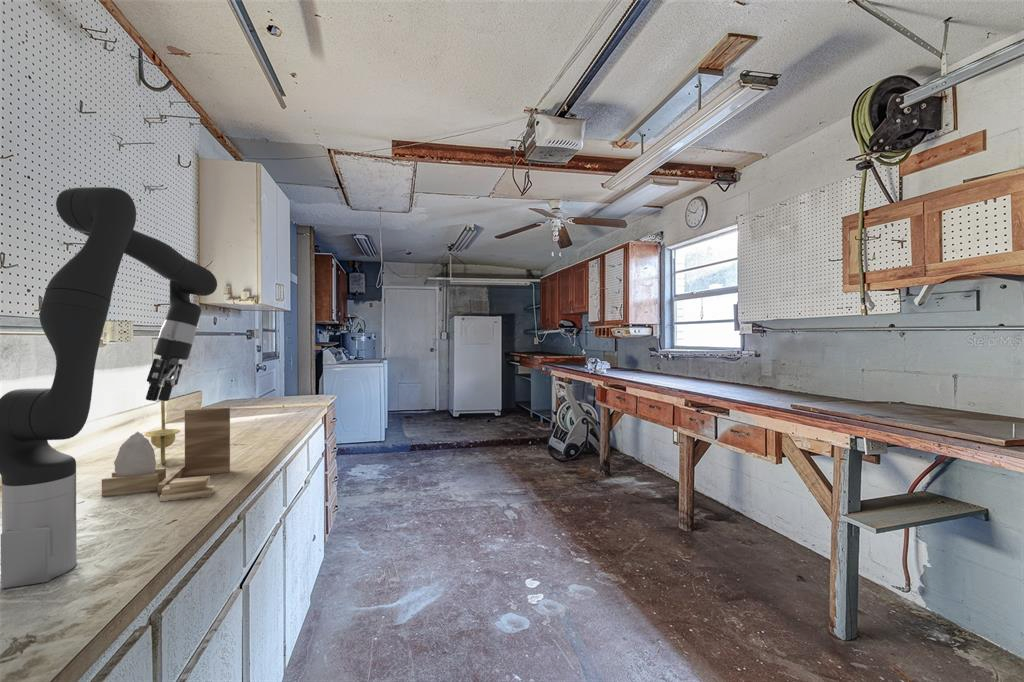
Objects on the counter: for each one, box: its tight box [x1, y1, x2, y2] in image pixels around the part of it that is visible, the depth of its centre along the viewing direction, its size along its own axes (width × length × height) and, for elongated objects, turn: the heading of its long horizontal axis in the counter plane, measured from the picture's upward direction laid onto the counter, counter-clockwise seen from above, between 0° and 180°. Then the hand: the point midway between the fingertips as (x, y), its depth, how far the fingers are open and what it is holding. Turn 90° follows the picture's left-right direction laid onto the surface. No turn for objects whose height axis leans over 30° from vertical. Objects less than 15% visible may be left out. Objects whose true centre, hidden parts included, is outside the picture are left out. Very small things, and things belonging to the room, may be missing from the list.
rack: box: [157, 407, 231, 497], centre depth 130 cm, size 19×13×20 cm
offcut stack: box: [159, 475, 216, 502], centre depth 119 cm, size 5×11×4 cm, turn 112°
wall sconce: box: [143, 400, 181, 465], centre depth 149 cm, size 14×10×25 cm
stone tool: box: [113, 431, 157, 477], centre depth 123 cm, size 9×3×15 cm, turn 121°
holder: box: [101, 467, 167, 497], centre depth 124 cm, size 7×12×4 cm, turn 112°
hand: (157, 400), depth 116 cm, fingers open, 8 cm apart
